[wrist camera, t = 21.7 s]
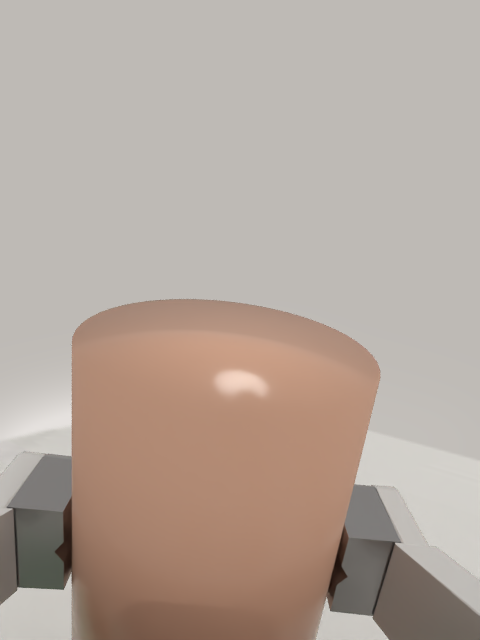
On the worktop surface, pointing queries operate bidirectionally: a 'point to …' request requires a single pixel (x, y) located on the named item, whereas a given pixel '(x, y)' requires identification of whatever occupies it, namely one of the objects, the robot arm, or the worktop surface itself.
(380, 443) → the worktop surface
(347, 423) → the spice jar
